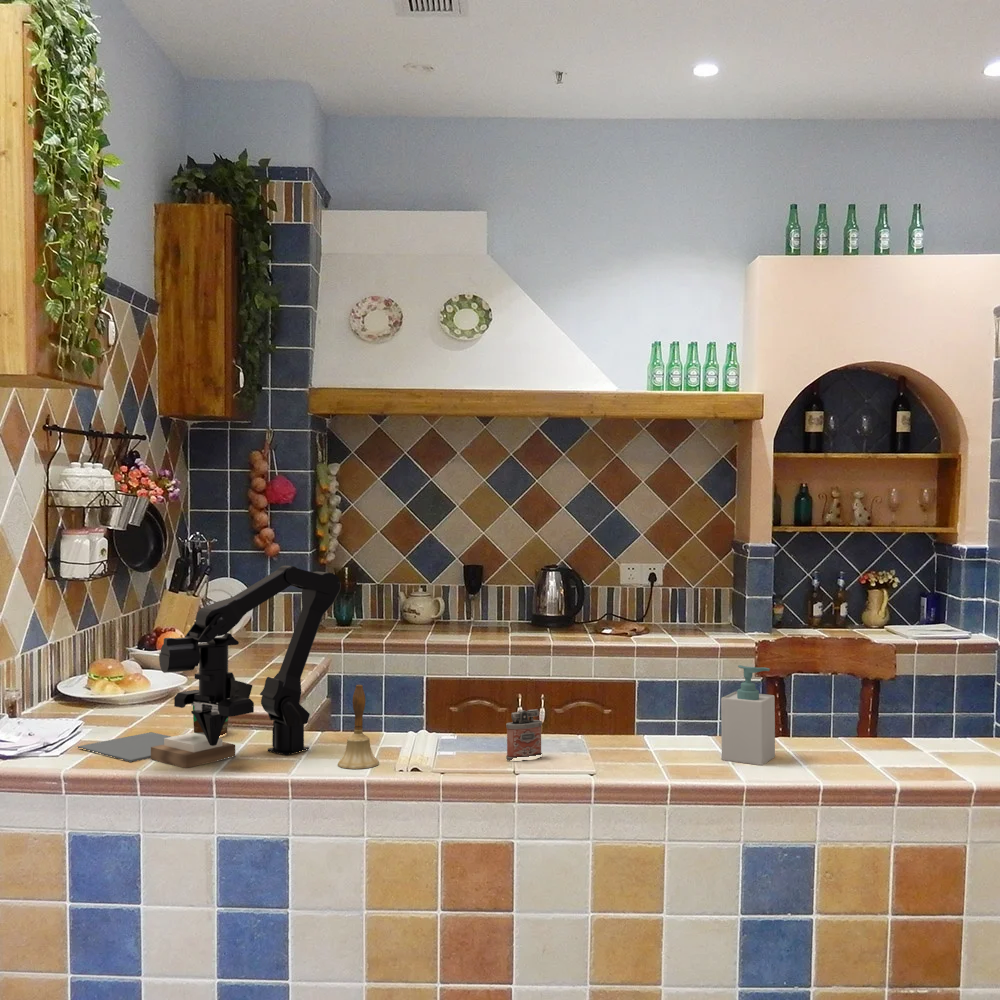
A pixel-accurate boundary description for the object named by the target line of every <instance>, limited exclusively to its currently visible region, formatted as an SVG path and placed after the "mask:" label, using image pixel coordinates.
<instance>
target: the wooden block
mask: <svg viewBox="0 0 1000 1000" xmlns="http://www.w3.org/2000/svg"><path fill="white" fill-rule="evenodd" d="M232 756H235V757H236V744H235V743H229V742H225V741H222V746H221V747H216V748H212V749H207V750H202V751H198V752H190V751H185V750H181V749H177V748H172V747H168V746H164V745H159V746H154V747H151V758H150V760H151V759H153V760H152V761H155V760H157V762H159V761H160V763H163V764H168V765H172V766H176V767H179V768H183V769H189V768H193V767H196V766H200V765H201V766H202V765H205V764H209V763H213V762H218V761H217V760H219V761H222V760H221V759H223V760H225V759H224V758H227V759H229V758H228V757H232ZM232 758H233V757H232Z"/></svg>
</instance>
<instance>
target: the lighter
mask: <svg viewBox="0 0 1000 1000" xmlns="http://www.w3.org/2000/svg"><path fill="white" fill-rule="evenodd" d="M539 715H540V711H539V709H527V711H526V710H523V709H519V710H518V711H516V712H511V720H512V722H507V723H506V724H505V726H506V727H505V728H506V757H505V758H506V759H507V760H512V759H513V758H517V757H529V756H536V755H541V754H542V755H543V752H542V726H543V720H539V719H534V717H538V716H539ZM506 759H505V760H506Z"/></svg>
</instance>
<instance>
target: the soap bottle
mask: <svg viewBox="0 0 1000 1000" xmlns="http://www.w3.org/2000/svg"><path fill="white" fill-rule="evenodd" d="M737 667H738V668H740V669H743V678H744V681H743V682H741V683H740V688H738V689H737V690H736V691H733V692H731V693H729V694H727V695H725V696H722V697H721V699H720V700H721V702H720V706H721V707H720V708H721V718H720V719H721V761H727V762H733V763H742V764H749V765H756V766H764V765H765V764H767V763H768V762H769V761H771V760H773V759H774V758H776V732H775V731H776V729H775V728H776V727H775V726H776V722H775V721H776V720H775V719H776V718H775V717H776V716H775V715H776V713H775V710H776V709H775V705H776V703H775V702H776V701H775V699H776V698H775V695H773V694H767V693H766V694H765V693H760V691H759V689H757V688H756V683H754V682H752V678H753V674H754V673H760V672H770V670H771V668H769V667H757V666H745V665H738V666H737Z"/></svg>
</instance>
